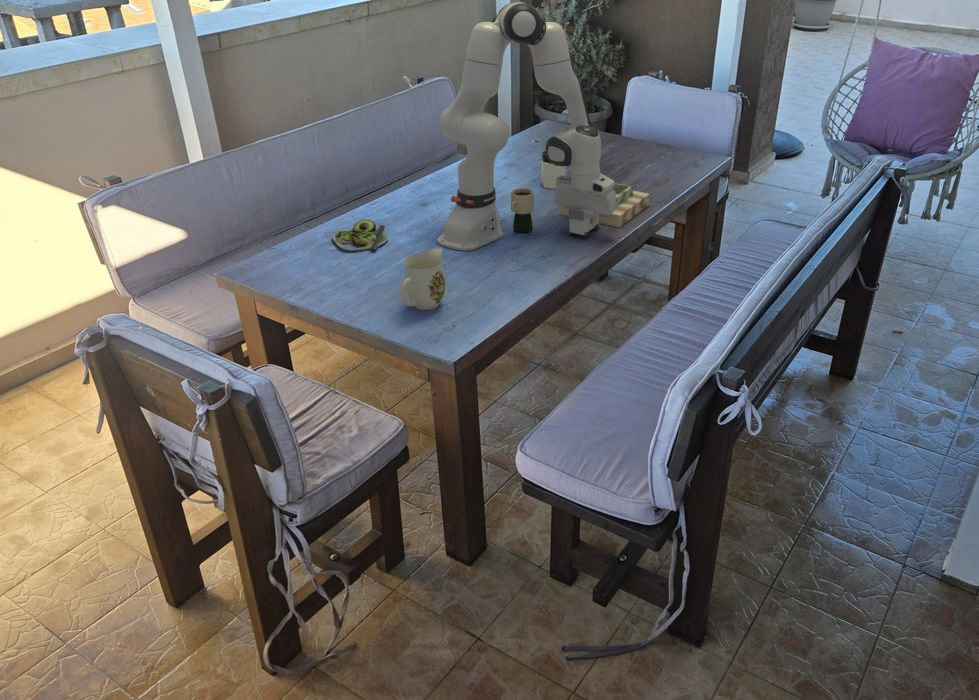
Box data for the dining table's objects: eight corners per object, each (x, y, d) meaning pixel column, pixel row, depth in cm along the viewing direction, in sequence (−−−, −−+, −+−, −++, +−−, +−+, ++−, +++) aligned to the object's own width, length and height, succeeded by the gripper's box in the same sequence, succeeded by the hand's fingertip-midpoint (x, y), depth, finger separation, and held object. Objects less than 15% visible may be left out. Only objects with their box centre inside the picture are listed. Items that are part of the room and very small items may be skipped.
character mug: (525, 222, 278) (524, 184, 271) (542, 227, 274) (541, 189, 267) (503, 232, 271) (502, 194, 264) (520, 238, 267) (520, 199, 260)
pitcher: (388, 315, 227) (383, 269, 220) (427, 288, 240) (424, 243, 233) (421, 325, 222) (417, 278, 215) (459, 296, 235) (457, 251, 228)
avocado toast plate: (400, 248, 264) (398, 235, 262) (344, 260, 259) (342, 246, 256) (381, 226, 280) (380, 213, 277) (329, 237, 274) (327, 224, 272)
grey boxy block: (583, 240, 264) (584, 212, 259) (566, 236, 267) (567, 208, 262) (599, 228, 271) (600, 200, 266) (583, 225, 274) (583, 197, 269)
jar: (553, 191, 301) (553, 158, 295) (536, 185, 306) (536, 153, 300) (570, 184, 306) (570, 152, 300) (553, 179, 312) (553, 147, 305)
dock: (619, 227, 272) (620, 207, 268) (560, 214, 282) (560, 194, 279) (648, 205, 287) (650, 185, 283) (591, 193, 298) (591, 174, 294)
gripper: (551, 177, 263) (550, 218, 270) (610, 188, 253) (608, 231, 260) (561, 171, 268) (560, 212, 275) (619, 182, 257) (617, 224, 265)
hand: (584, 221), depth 267 cm, fingers closed on grey boxy block, 5 cm apart
